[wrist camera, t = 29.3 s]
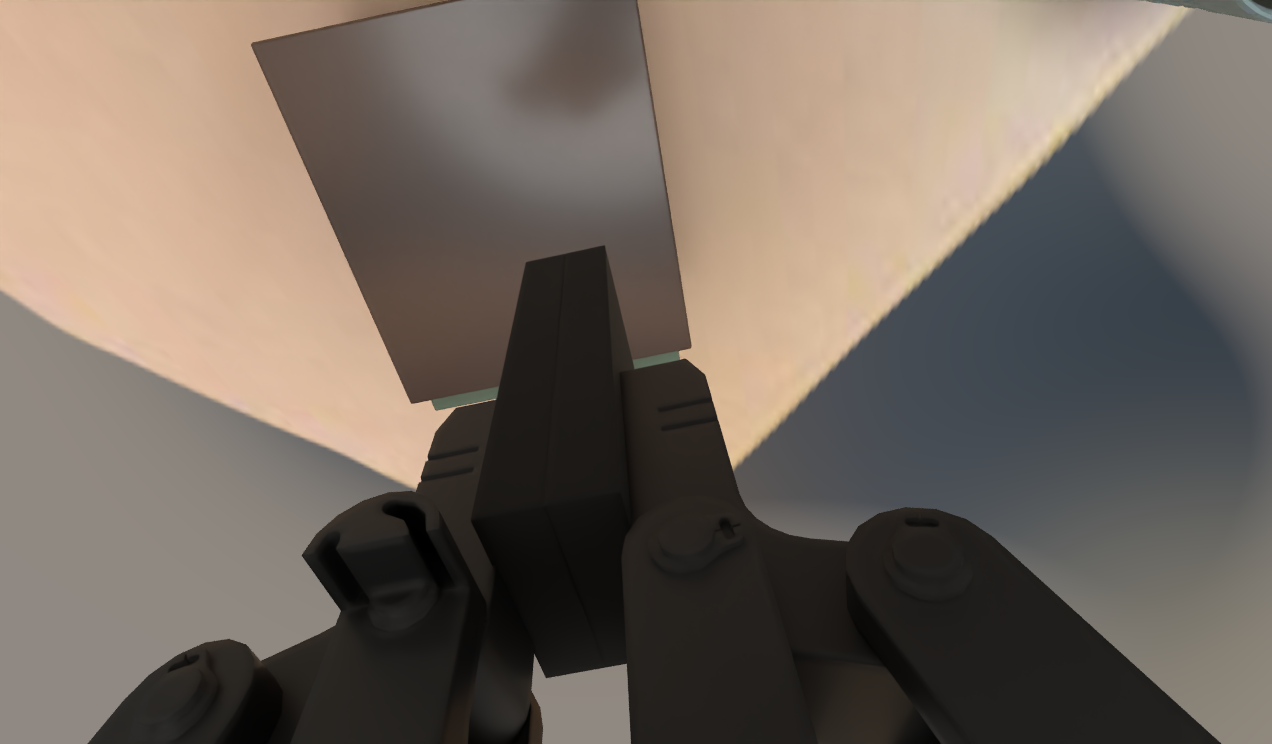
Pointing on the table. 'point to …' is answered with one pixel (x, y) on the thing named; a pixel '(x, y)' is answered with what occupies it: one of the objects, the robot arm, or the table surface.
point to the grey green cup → (1229, 7)
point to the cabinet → (483, 170)
